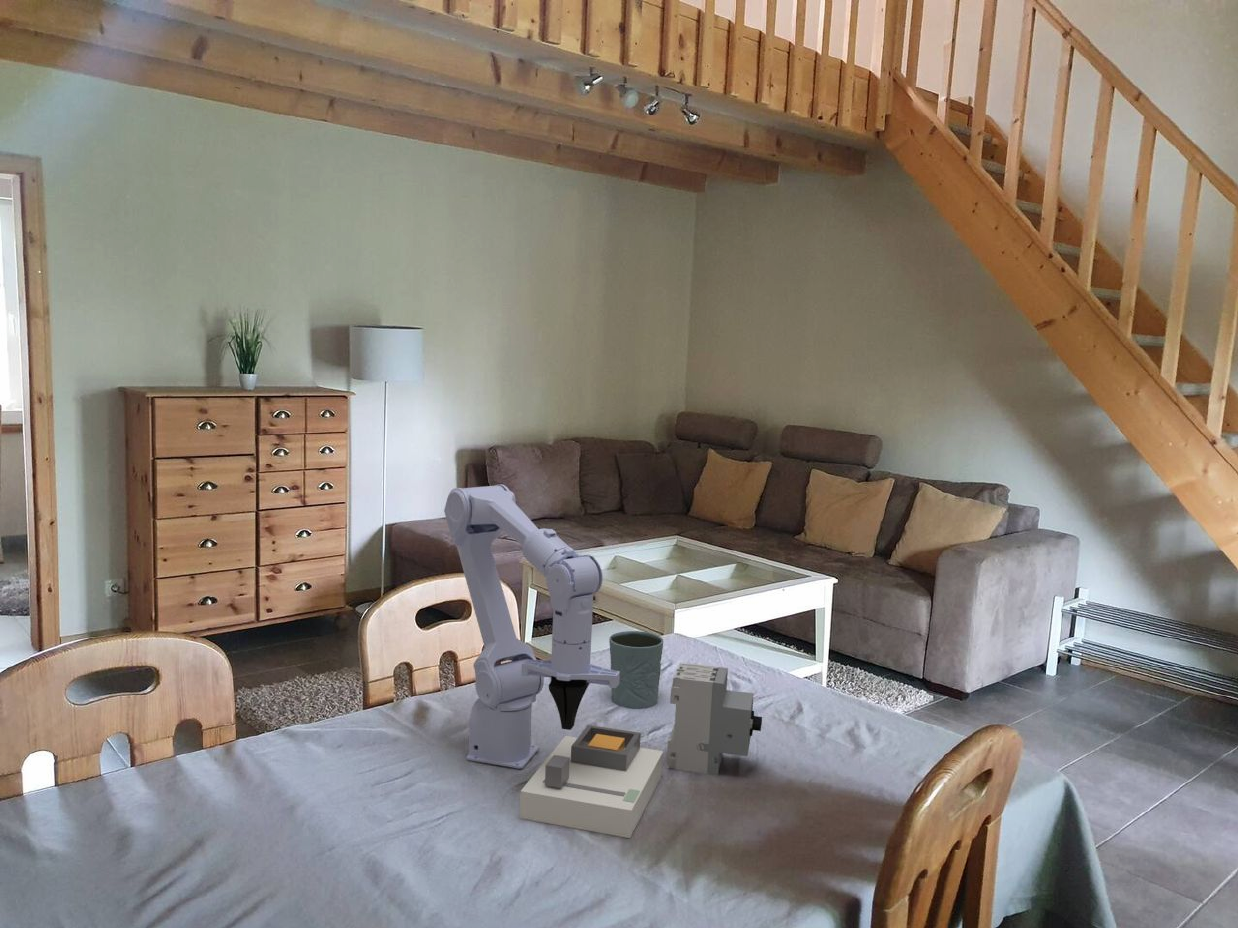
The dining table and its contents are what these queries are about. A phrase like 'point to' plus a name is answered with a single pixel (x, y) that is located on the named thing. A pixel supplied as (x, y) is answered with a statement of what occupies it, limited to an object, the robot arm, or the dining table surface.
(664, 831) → the dining table surface
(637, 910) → the dining table surface
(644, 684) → the green cylindrical pot
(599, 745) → the button
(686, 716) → the circuit breaker
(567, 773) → the block
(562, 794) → the slider control box
